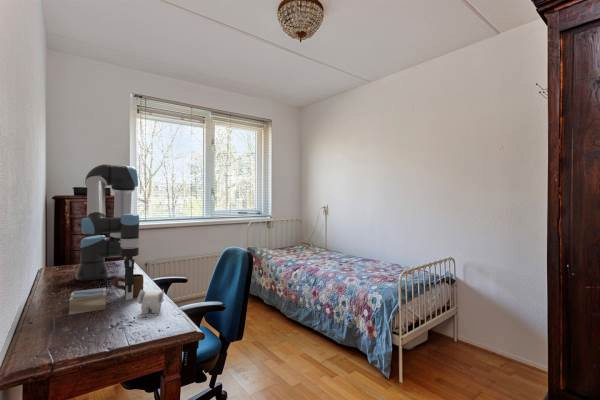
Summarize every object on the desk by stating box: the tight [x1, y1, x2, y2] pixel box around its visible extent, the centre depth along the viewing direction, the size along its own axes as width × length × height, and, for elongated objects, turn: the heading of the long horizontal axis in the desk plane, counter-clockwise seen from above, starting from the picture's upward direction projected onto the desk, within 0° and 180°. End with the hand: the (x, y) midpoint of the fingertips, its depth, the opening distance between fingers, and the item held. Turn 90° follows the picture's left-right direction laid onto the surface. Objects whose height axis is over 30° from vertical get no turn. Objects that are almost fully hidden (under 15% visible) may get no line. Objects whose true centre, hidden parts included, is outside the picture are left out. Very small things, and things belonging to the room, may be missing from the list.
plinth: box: [68, 287, 107, 315], centre depth 126 cm, size 12×12×6 cm
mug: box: [113, 273, 144, 299], centre depth 140 cm, size 12×8×9 cm, turn 119°
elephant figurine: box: [136, 288, 165, 315], centre depth 124 cm, size 10×12×9 cm
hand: (128, 296), depth 140 cm, fingers open, 9 cm apart
